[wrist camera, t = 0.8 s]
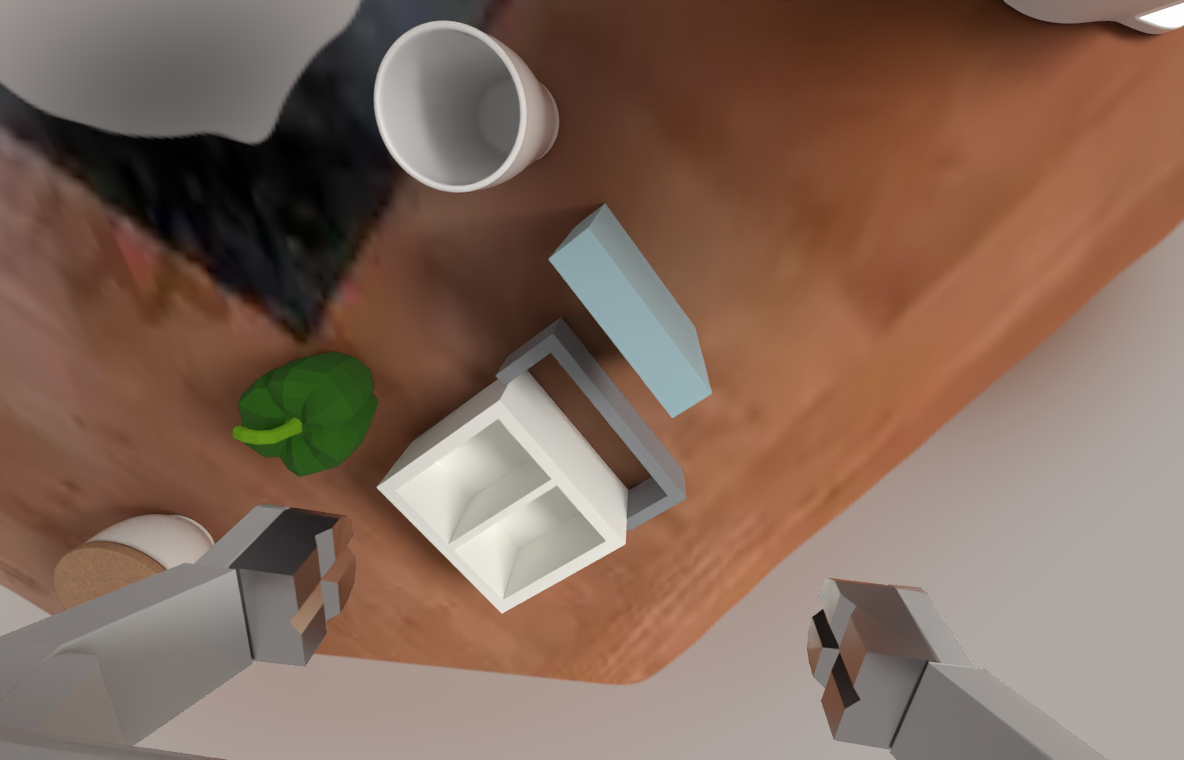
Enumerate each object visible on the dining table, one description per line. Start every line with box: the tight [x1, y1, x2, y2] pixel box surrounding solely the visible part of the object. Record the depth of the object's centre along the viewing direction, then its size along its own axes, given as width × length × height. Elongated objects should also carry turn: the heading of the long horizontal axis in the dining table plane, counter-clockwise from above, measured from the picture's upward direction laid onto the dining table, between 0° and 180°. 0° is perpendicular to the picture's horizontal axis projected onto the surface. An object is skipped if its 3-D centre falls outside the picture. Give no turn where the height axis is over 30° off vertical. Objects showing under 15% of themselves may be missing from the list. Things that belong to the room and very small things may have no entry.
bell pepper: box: [232, 351, 378, 477], centre depth 42 cm, size 8×8×10 cm
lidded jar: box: [53, 514, 215, 610], centre depth 51 cm, size 11×11×9 cm
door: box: [549, 203, 712, 418], centre depth 36 cm, size 3×11×12 cm, turn 38°
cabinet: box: [376, 317, 686, 613], centre depth 44 cm, size 17×16×7 cm
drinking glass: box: [374, 21, 559, 193], centre depth 31 cm, size 7×7×15 cm
